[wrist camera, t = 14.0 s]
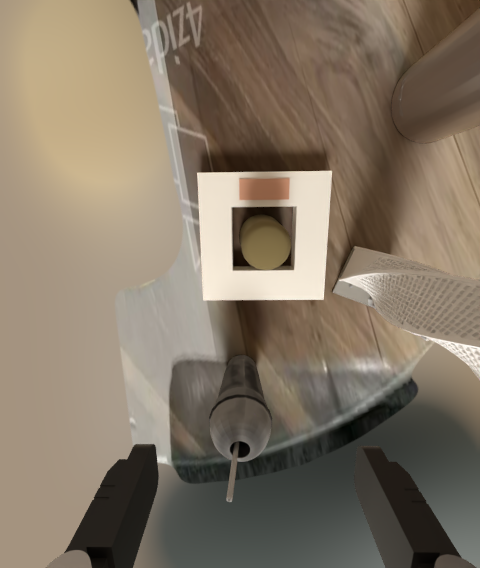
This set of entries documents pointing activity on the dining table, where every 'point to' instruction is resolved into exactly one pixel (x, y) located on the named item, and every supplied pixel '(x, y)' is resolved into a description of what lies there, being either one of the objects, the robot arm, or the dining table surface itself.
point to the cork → (264, 242)
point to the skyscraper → (417, 299)
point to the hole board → (264, 193)
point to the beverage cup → (240, 415)
